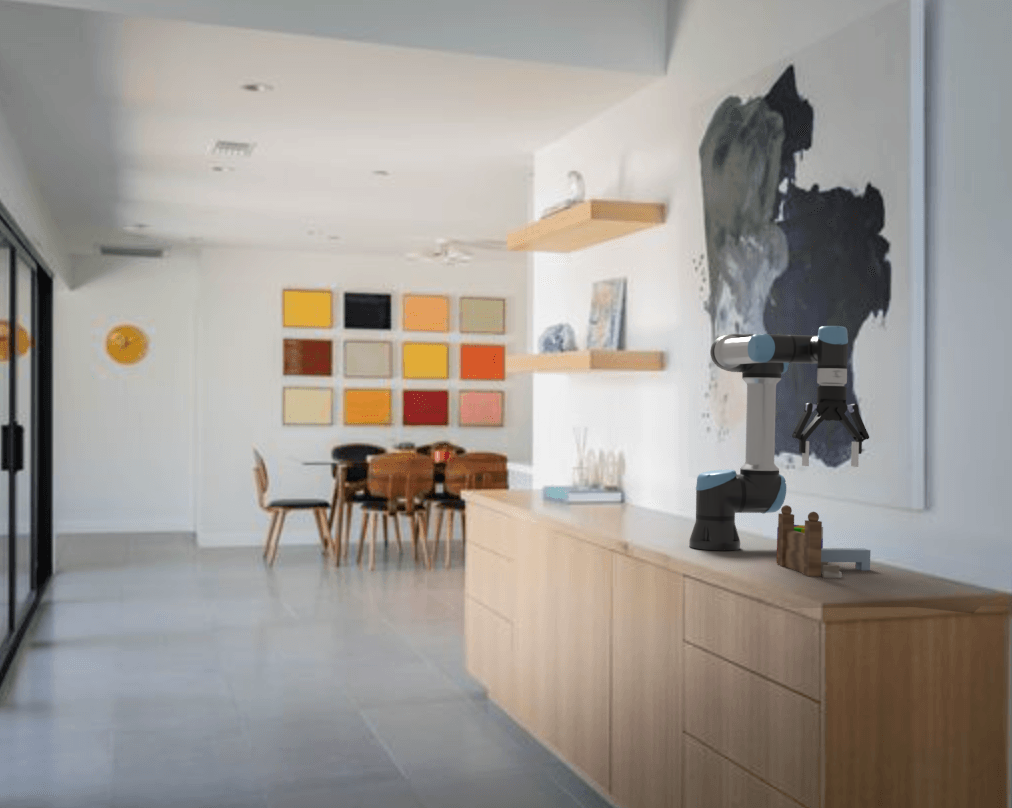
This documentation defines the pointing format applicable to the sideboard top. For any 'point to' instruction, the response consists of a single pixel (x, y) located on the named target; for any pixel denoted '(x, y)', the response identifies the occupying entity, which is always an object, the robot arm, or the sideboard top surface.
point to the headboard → (802, 546)
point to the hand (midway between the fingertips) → (830, 466)
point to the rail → (847, 556)
